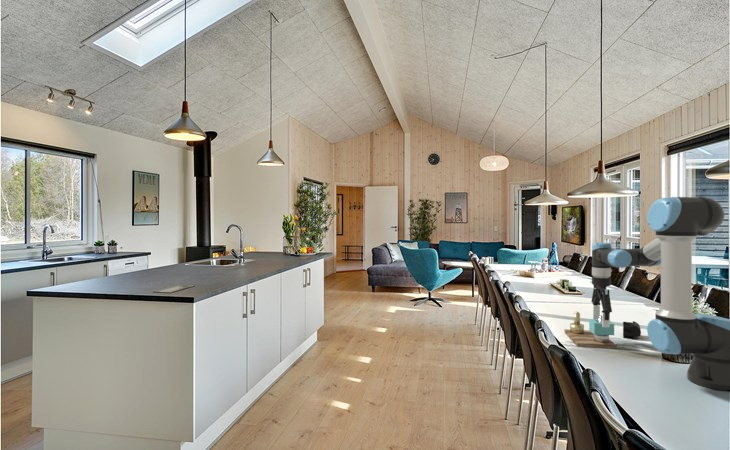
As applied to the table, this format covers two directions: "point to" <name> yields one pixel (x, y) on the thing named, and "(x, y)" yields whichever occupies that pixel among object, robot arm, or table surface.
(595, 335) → the stand rod
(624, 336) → the end cap
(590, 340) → the board
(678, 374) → the table surface
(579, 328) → the hub
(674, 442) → the table surface
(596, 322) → the collar
